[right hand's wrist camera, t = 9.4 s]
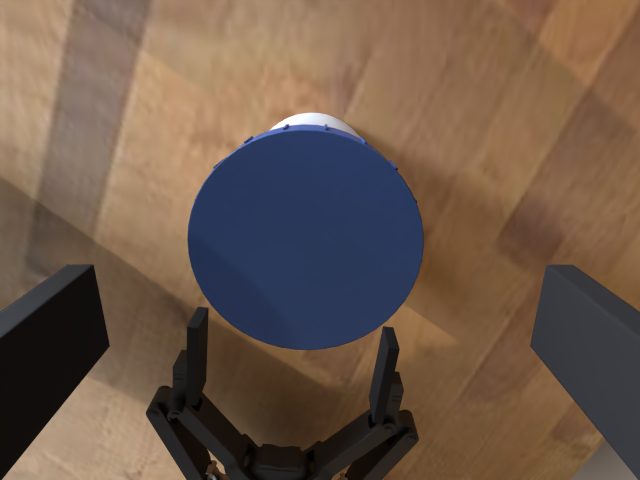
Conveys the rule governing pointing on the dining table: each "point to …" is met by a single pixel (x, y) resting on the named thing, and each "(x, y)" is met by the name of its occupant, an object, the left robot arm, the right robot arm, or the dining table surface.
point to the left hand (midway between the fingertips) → (295, 326)
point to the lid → (305, 238)
